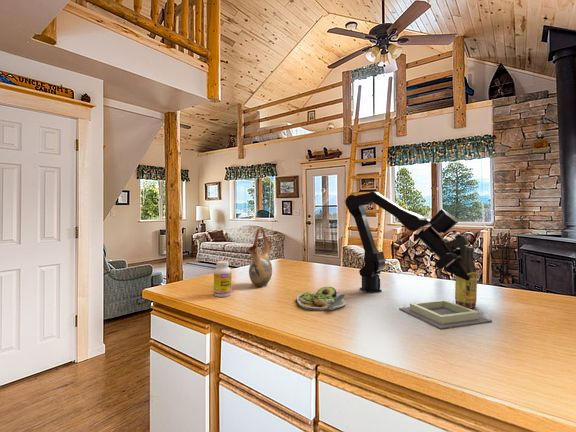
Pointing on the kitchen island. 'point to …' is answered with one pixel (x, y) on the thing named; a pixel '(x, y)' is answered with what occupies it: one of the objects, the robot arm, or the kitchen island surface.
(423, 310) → the bottle collar
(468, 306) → the sauce bottle
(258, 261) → the ceramic vessel
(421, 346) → the kitchen island surface
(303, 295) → the salad plate
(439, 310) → the rubber mat
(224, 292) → the supplement bottle
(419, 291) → the kitchen island surface
